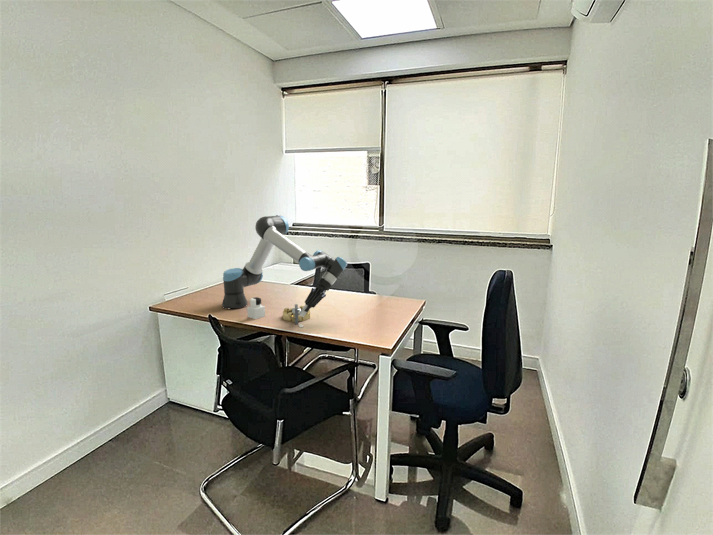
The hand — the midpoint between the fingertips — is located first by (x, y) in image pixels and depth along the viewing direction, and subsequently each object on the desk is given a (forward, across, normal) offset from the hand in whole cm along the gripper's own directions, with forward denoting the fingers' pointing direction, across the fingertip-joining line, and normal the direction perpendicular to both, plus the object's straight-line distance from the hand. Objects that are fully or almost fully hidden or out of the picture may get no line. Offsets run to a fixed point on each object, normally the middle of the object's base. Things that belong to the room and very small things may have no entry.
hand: (300, 315), depth 202 cm
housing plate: (+2, +10, -6) cm, 12 cm away
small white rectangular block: (+5, -4, -2) cm, 7 cm away
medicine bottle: (+15, +24, +8) cm, 30 cm away
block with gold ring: (+2, +8, -4) cm, 9 cm away
